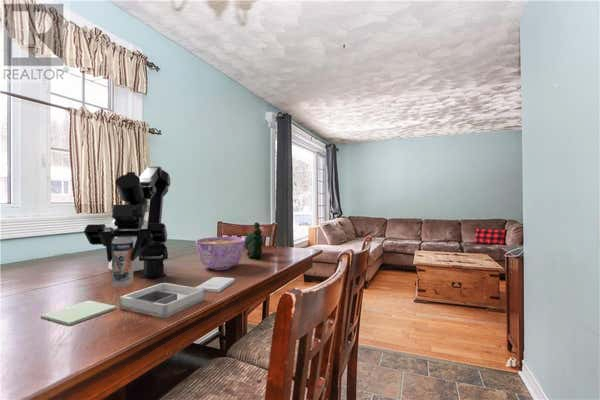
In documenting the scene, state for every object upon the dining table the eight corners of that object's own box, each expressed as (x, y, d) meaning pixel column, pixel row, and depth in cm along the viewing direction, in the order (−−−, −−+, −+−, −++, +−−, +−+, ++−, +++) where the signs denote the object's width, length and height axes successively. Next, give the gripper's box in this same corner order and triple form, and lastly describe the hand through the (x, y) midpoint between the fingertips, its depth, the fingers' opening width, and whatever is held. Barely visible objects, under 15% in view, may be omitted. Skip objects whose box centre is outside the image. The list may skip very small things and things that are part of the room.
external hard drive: (234, 282, 102) (218, 294, 90) (213, 281, 103) (194, 292, 91) (234, 278, 102) (218, 288, 90) (213, 276, 103) (194, 287, 91)
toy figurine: (267, 264, 134) (260, 250, 158) (268, 224, 132) (261, 216, 156) (246, 266, 132) (242, 251, 156) (247, 224, 130) (243, 216, 154)
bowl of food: (196, 275, 108) (196, 244, 108) (194, 264, 127) (194, 237, 127) (249, 271, 115) (249, 242, 115) (240, 261, 134) (241, 235, 134)
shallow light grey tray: (119, 308, 76) (119, 296, 76) (163, 292, 89) (163, 282, 89) (164, 318, 70) (165, 305, 70) (204, 299, 83) (204, 289, 83)
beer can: (108, 288, 71) (108, 239, 71) (115, 283, 76) (115, 237, 76) (130, 287, 73) (130, 239, 72) (135, 281, 77) (135, 236, 77)
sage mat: (40, 317, 70) (40, 315, 70) (89, 302, 80) (89, 300, 80) (69, 325, 66) (69, 322, 66) (116, 308, 76) (116, 306, 76)
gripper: (86, 193, 75) (64, 242, 65) (165, 193, 80) (156, 240, 70) (99, 220, 83) (81, 269, 73) (170, 220, 88) (163, 265, 77)
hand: (120, 260), depth 73 cm, fingers closed on beer can, 5 cm apart
